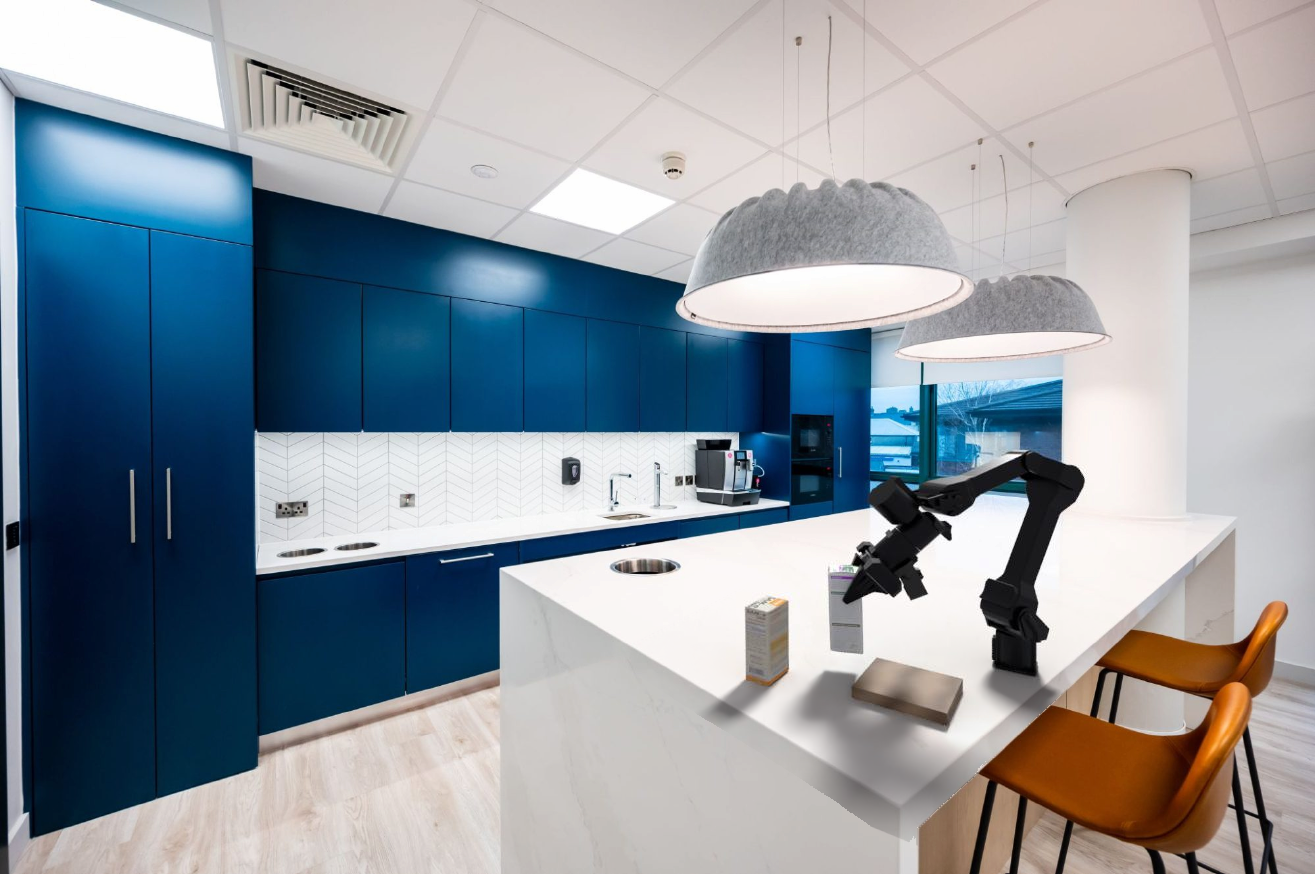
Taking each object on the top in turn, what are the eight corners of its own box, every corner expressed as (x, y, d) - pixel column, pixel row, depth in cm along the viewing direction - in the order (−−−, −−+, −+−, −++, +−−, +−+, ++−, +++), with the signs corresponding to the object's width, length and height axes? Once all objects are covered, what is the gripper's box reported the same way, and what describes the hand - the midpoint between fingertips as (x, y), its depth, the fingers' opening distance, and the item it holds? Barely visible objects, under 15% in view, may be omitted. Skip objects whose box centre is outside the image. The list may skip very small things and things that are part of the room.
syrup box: (864, 654, 95) (863, 573, 95) (829, 651, 97) (828, 571, 97) (861, 642, 101) (860, 565, 101) (828, 639, 103) (827, 563, 102)
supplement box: (766, 663, 102) (766, 594, 101) (789, 670, 99) (789, 599, 98) (743, 679, 95) (743, 605, 95) (768, 687, 92) (768, 610, 92)
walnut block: (962, 693, 91) (962, 678, 91) (946, 730, 80) (946, 713, 80) (876, 670, 99) (876, 657, 99) (851, 700, 88) (851, 685, 88)
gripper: (957, 588, 85) (883, 651, 88) (931, 560, 103) (871, 613, 106) (902, 536, 87) (832, 600, 90) (886, 518, 105) (828, 571, 108)
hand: (843, 597), depth 99 cm, fingers closed on syrup box, 6 cm apart
